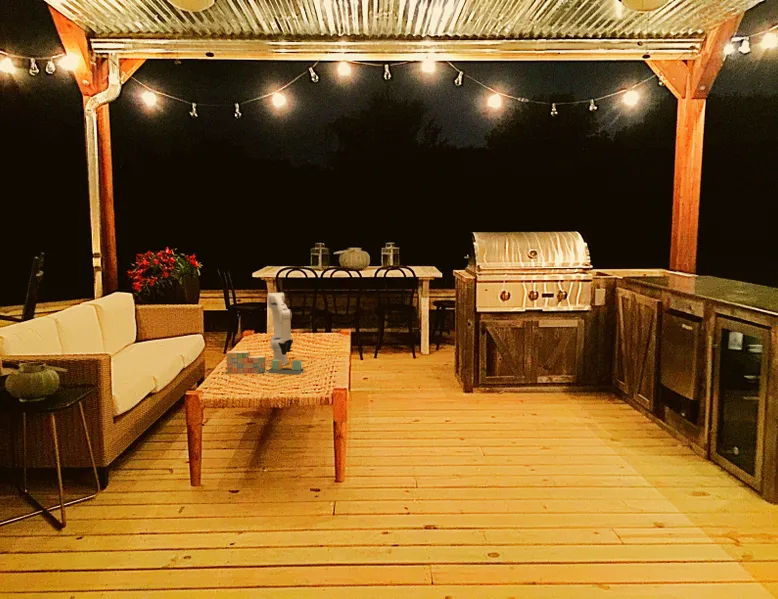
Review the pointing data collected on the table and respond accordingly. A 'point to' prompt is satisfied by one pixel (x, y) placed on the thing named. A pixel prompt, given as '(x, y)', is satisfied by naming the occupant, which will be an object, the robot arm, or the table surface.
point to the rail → (290, 369)
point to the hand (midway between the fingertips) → (286, 353)
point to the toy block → (276, 364)
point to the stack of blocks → (245, 362)
